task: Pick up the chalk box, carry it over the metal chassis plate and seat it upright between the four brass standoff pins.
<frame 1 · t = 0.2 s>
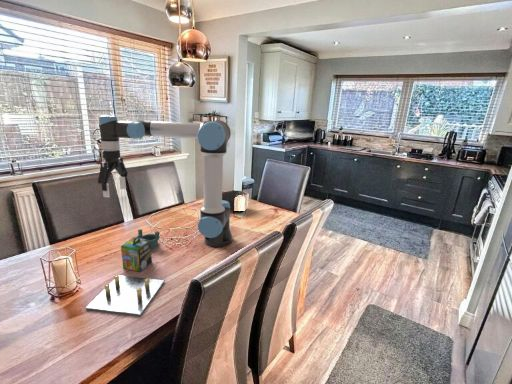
hand: (115, 193, 136), 28 cm above the table, fingers open, 13 cm apart
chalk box: (137, 265, 127), on the table
green pot: (150, 246, 144), on the table
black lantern: (228, 208, 202), on the table
chassis: (128, 294, 107), on the table
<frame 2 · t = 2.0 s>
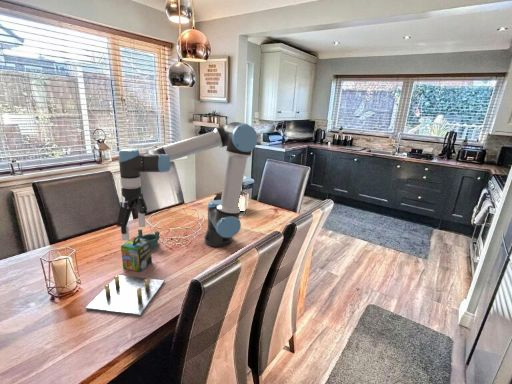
hand: (134, 233, 122), 16 cm above the table, fingers open, 13 cm apart
nothing on the table moved.
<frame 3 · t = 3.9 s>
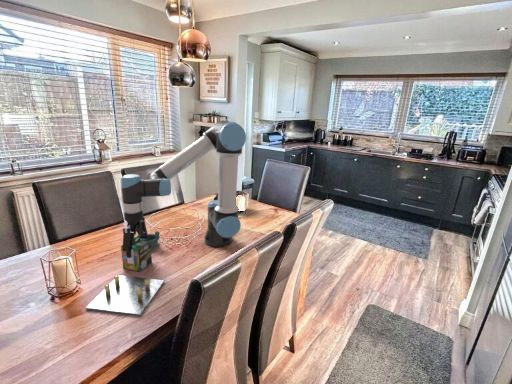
hand: (137, 257, 125), 4 cm above the table, fingers closed on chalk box, 10 cm apart
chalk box: (137, 265, 127), on the table, touching gripper
everything else where it was.
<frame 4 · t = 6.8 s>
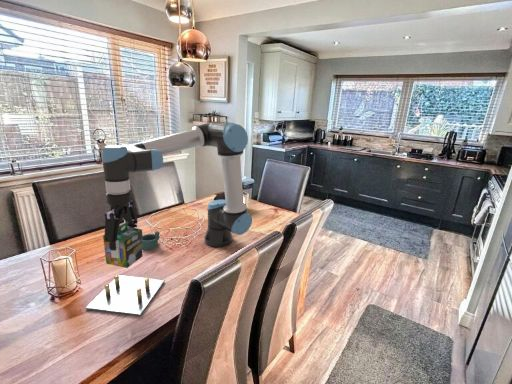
hand: (124, 250, 101), 19 cm above the table, fingers closed on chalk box, 10 cm apart
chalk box: (125, 260, 102), point 15 cm above the table, touching gripper
everything else where it was.
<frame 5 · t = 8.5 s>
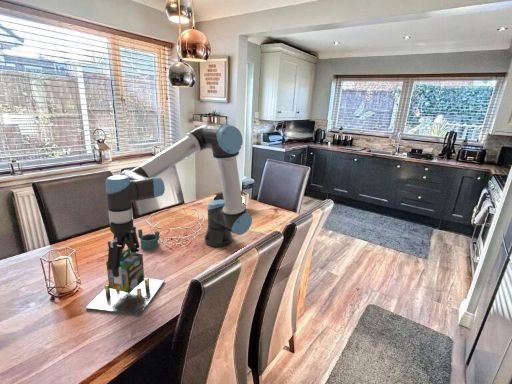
hand: (126, 274, 104), 9 cm above the table, fingers closed on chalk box, 10 cm apart
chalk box: (127, 284, 105), point 5 cm above the table, touching gripper
everything else where it was.
when the fingers open (8 cm above the table, at t = 9.8 s): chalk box drops 2 cm, resting on chassis.
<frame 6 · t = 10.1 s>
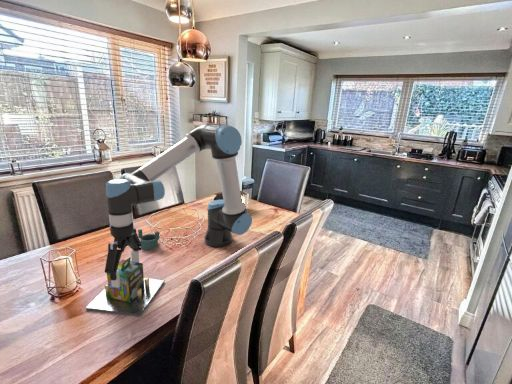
hand: (126, 275, 104), 9 cm above the table, fingers open, 13 cm apart
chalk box: (127, 293, 106), point 1 cm above the table, touching chassis
everything else where it was.
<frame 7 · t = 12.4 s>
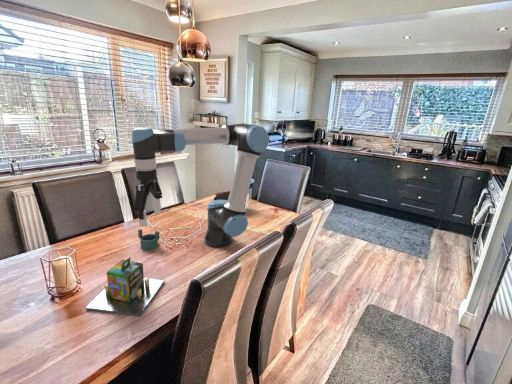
hand: (151, 219, 115), 25 cm above the table, fingers open, 13 cm apart
nothing on the table moved.
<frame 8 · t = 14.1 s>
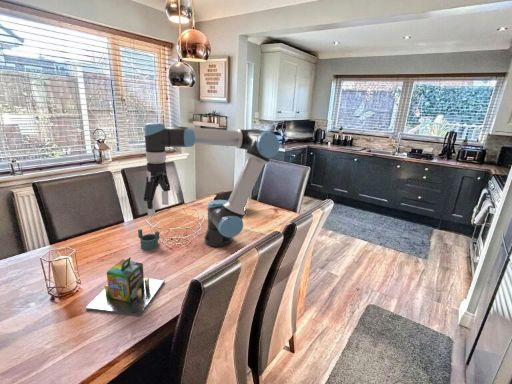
hand: (158, 209, 121), 27 cm above the table, fingers open, 13 cm apart
nothing on the table moved.
at the end: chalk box 0.4 cm off-centre on the chassis, point 0.8 cm above the chassis's base; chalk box tilted 0°; the gripper is holding nothing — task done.
